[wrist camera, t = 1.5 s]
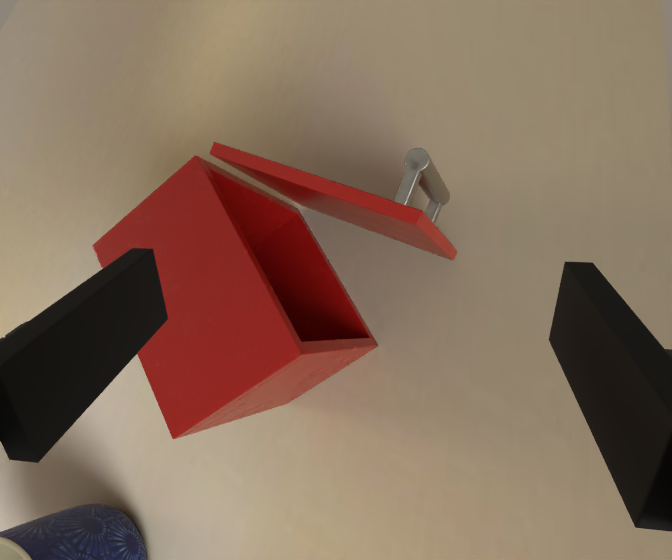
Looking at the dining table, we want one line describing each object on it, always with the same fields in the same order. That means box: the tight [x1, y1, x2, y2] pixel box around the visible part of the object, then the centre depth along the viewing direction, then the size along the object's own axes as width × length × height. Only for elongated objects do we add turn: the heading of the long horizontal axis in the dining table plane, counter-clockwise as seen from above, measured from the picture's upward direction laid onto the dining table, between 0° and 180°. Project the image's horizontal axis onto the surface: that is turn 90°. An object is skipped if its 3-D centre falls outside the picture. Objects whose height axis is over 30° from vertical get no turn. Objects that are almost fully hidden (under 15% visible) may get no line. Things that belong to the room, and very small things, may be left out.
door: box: [210, 142, 457, 260], centre depth 32 cm, size 4×14×13 cm, turn 67°
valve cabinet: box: [93, 156, 378, 439], centre depth 34 cm, size 10×14×14 cm
